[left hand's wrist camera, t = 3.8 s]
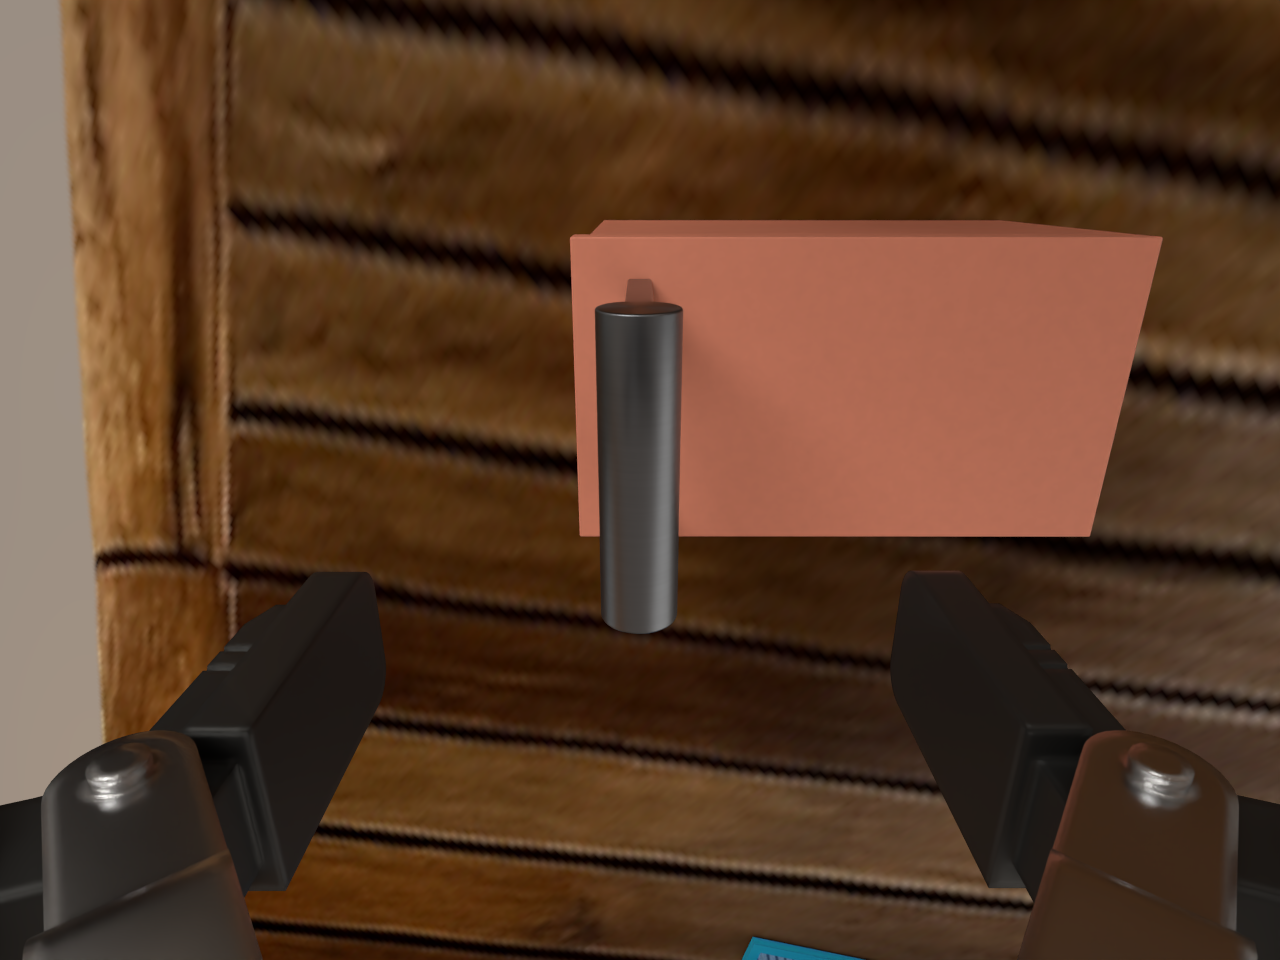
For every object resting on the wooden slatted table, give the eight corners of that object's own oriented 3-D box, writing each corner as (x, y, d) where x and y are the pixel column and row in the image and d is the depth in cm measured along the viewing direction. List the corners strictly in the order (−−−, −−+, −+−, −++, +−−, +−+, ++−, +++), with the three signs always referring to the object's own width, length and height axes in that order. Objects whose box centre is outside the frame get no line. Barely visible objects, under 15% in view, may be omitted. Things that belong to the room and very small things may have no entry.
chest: (606, 437, 35) (595, 522, 26) (602, 220, 32) (588, 234, 23) (964, 438, 35) (1071, 522, 26) (1001, 220, 32) (1138, 234, 23)
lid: (582, 522, 26) (556, 670, 18) (573, 234, 23) (536, 262, 15) (1072, 523, 26) (1260, 671, 18) (1139, 234, 23) (1409, 261, 15)
